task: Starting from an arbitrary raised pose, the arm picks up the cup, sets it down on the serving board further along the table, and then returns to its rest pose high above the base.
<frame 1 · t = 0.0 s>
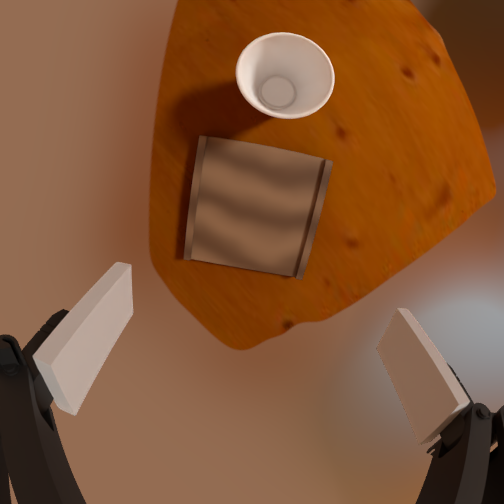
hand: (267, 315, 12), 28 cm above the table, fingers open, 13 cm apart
board: (254, 207, 39), on the table
cup: (277, 92, 32), on the table
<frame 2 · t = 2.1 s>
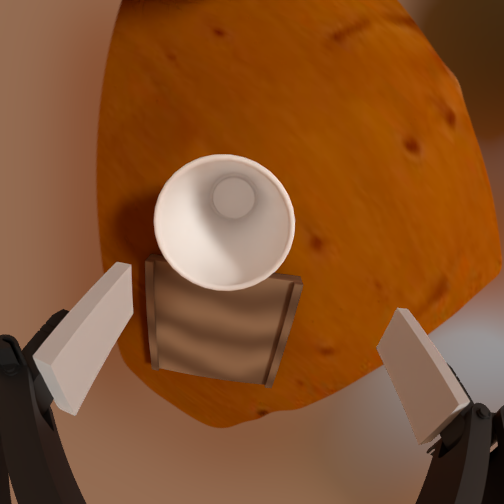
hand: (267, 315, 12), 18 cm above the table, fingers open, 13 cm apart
board: (217, 326, 35), on the table
cup: (234, 197, 29), on the table
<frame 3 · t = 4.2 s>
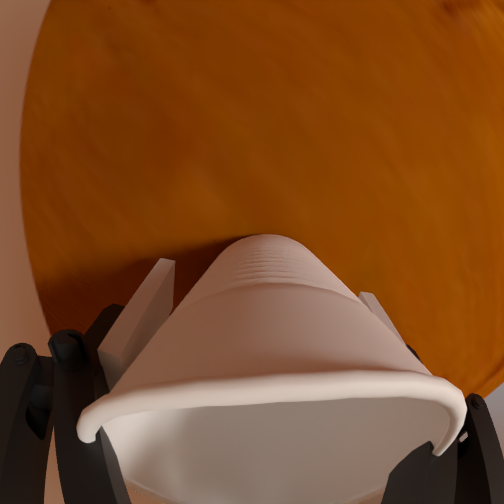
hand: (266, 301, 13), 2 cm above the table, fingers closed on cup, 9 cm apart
cup: (265, 283, 15), on the table, touching gripper
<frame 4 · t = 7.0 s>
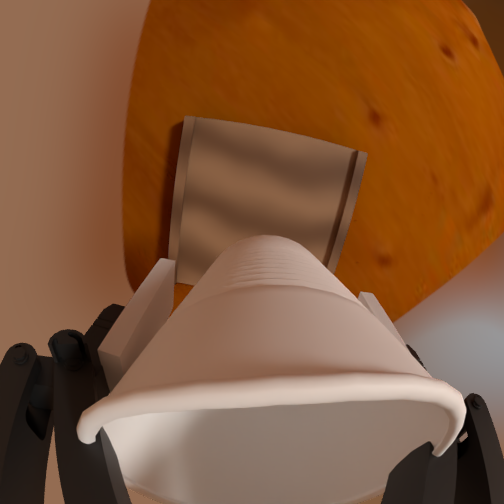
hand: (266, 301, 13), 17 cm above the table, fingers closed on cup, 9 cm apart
board: (260, 214, 29), on the table
cup: (265, 284, 15), point 15 cm above the table, touching gripper
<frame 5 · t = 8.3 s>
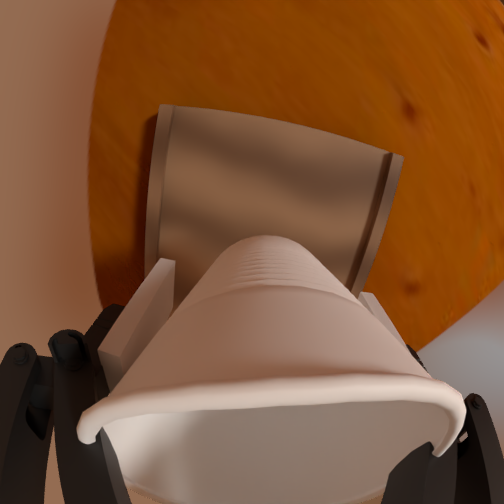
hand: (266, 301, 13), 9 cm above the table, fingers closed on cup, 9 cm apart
board: (262, 235, 22), on the table
cup: (265, 284, 15), point 8 cm above the table, touching gripper
when the fingers open (5 cm above the table, at t = 9.6 s): cup drops 2 cm, resting on board.
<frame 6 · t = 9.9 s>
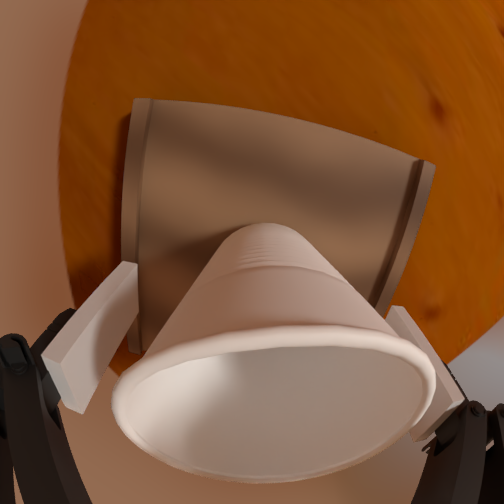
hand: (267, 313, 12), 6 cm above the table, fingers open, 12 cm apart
board: (263, 259, 18), on the table
cup: (264, 267, 17), point 1 cm above the table, touching board
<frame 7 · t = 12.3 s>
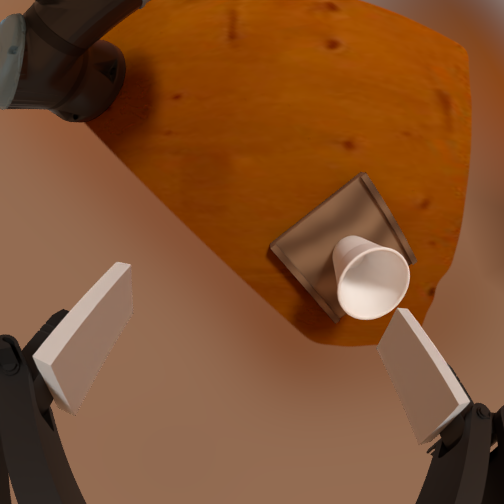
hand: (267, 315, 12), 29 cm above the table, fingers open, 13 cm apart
board: (348, 250, 42), on the table
cup: (350, 253, 41), point 1 cm above the table, touching board
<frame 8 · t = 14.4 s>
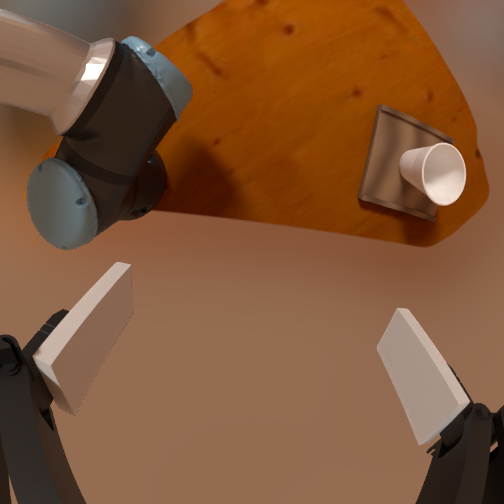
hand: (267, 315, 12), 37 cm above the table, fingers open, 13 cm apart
board: (408, 165, 43), on the table
cup: (410, 165, 42), point 1 cm above the table, touching board
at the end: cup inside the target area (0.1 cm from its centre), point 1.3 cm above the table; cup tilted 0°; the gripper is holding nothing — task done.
